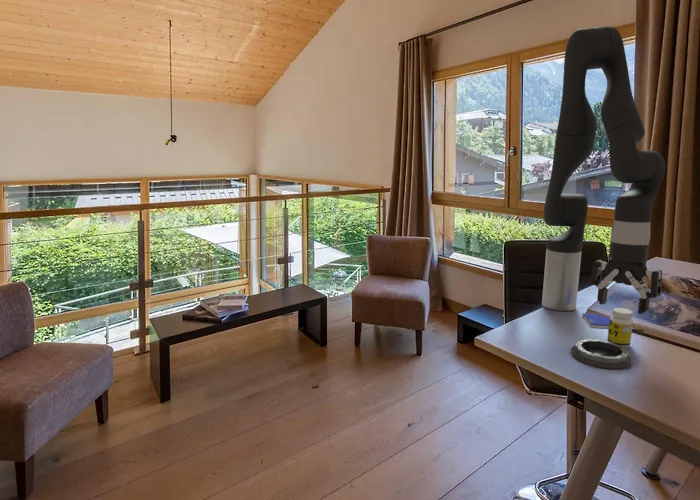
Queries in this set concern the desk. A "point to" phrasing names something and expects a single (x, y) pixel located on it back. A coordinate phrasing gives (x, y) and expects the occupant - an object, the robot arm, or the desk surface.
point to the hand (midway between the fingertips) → (621, 308)
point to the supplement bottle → (620, 327)
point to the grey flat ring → (601, 354)
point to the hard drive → (596, 320)
